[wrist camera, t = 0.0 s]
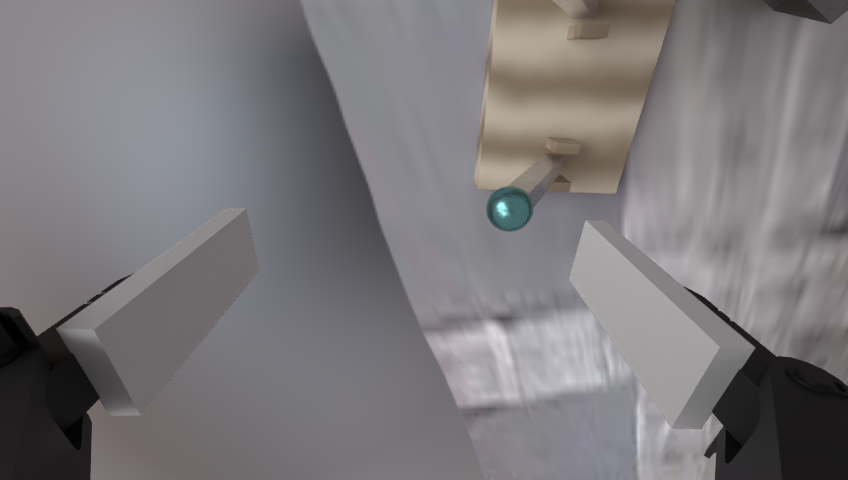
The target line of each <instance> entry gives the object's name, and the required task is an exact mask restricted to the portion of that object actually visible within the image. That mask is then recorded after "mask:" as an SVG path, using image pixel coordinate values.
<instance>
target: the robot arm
mask: <svg viewBox="0 0 848 480" xmlns="http://www.w3.org/2000/svg"><path fill="white" fill-rule="evenodd" d="M259 270H260V268H259V264H258V259H257V255H256V250H255V246H254V241H253V237H252V232H251V228H250V223H249V219H248V214H247V210H246V209H234V208H233V209H232V208H226V209H224V210H223V211H222V212H220V213H219V214H217V215H216V216H215V217H213V218H212V219H210V220H209V221H207V222H206V223H205V224H204V225H202V226H200V227H199V228H198V229H196V230H195V231H193V232H192V233H190V234H189V235H188V236H186V237H185V238H183V239H182V240H181V241H179V242H178V243H177V244H175V245H174V246H172V247H171V248H169V249H168V250H167V251H165V252H164V253H162V254H161V255H159V256H158V257H157V258H155V259H154V260H152V261H151V262H150V263H148V264H147V265H145V266H144V267H142V268H141V269H140V270H138V271H137V272H135V273H133V274H132V275H129V276H127V277H124V278H122V279H120V280H118V281H116V282H115V283H114V284H112V285H111V286H109V287H108V288H106V289H105V290H103V291H102V292H101V294H98V295H96V296H95V297H93V298H92V299H90V300H89V301H87V304H83V305H82V306H80V307H79V308H77V309H76V310H74V311H73V312H72V313H70V314H69V315H67V316H66V317H64V318H63V319H61V320H60V321H59V322H57V323H56V324H54V325H53V326H51V327H50V328H49V329H47V330H46V331H44V332H43V333H41V334H40V335H38V336H36V335H35V333H34V332H33V330H32V329H31V327H30V326H29V324H28V323H27V321H26V320H25V318H24V317H23V315H22V314H21V312H20V311H19V310H18V309H15V308H12V307H0V480H90V471H91V434H92V422H91V420H90V417H89V415H88V414H87V411H88V410H89V409H90V407H92V406H93V404H95V402H96V401H97V400H98V399H100V401H101V403H102V404H103V406H104V408H105V409H106V411H107V413H108V414H109V415H118V416H141V415H142V414H143V413H144V412H145V410H146V409H147V408H148V407H149V406H150V404H151V403H152V402H153V401H154V399H155V398H156V397H157V396H158V395H159V393H160V392H161V391H162V390H163V388H164V387H165V386H166V385H167V383H168V382H169V381H170V380H171V379H172V377H173V376H174V375H175V373H176V372H177V371H178V370H179V369H180V367H181V366H182V365H183V364H184V363H185V361H186V360H187V359H188V358H189V356H190V355H191V354H192V353H193V351H194V350H195V349H196V348H197V347H198V345H199V344H200V343H201V342H202V340H203V339H204V338H205V337H206V335H207V334H208V333H209V332H210V331H211V329H212V328H213V327H214V326H215V324H216V323H217V322H218V321H219V319H220V318H221V317H222V316H223V315H224V313H225V312H226V311H227V310H228V308H229V307H230V306H231V305H232V304H233V302H234V301H235V300H236V298H237V297H238V296H239V295H240V294H241V292H242V291H243V290H244V289H245V288H246V286H247V285H248V284H249V283H250V281H251V280H252V279H253V278H254V276H255V275H256V274H257V273H258V272H259ZM569 280H570V281H571V283H572V284H573V286H574V287H575V289H576V290H577V291H578V293H579V294H580V296H581V297H582V299H583V300H584V302H585V303H586V305H587V306H588V308H589V309H590V310H591V312H592V313H593V315H594V316H595V318H596V319H597V321H598V322H599V324H600V325H601V326H602V328H603V329H604V331H605V332H606V334H607V335H608V337H609V338H610V340H611V341H612V343H613V344H614V345H615V347H616V348H617V350H618V351H619V353H620V354H621V356H622V357H623V359H624V360H625V361H626V363H627V364H628V366H629V367H630V369H631V370H632V372H633V373H634V375H635V376H636V378H637V379H638V380H639V382H640V383H641V385H642V386H643V388H644V389H645V391H646V392H647V394H648V395H649V396H650V398H651V399H652V401H653V402H654V404H655V405H656V407H657V408H658V410H659V411H660V413H661V414H662V415H663V417H664V418H665V420H666V421H667V423H668V424H669V426H670V427H671V428H681V429H702V427H703V426H704V424H705V423H706V421H707V420H708V418H709V417H710V415H711V414H712V412H713V414H714V415H715V416H716V417H717V418H718V420H719V421H720V422H721V423H722V424H723V427H722V429H721V430H720V432H719V433H718V434H717V436H716V437H715V439H714V440H713V441H712V443H711V444H710V446H709V447H708V449H707V450H706V452H705V454H704V456H706V457H708V458H710V457H711V456H712V454H713V453H715V452H716V469H715V480H848V386H847V385H845V384H844V383H843V382H842V381H841V380H839V379H838V378H836V377H835V376H833V375H831V374H830V373H828V372H826V371H825V370H823V369H821V368H819V367H816V366H814V365H812V364H810V363H807V362H805V361H801V360H798V359H795V358H791V357H781V356H778V357H776V356H775V355H774V354H773V353H771V352H770V351H769V350H768V349H767V348H765V347H764V346H763V345H762V344H760V343H759V342H758V341H757V340H756V339H754V338H753V337H752V336H751V335H749V334H748V333H747V332H746V331H745V330H743V329H742V328H741V327H740V326H738V325H737V324H736V323H735V322H734V321H730V318H729V317H727V316H726V315H725V314H724V313H723V312H721V311H718V308H716V307H715V306H714V305H713V304H712V303H710V302H709V301H708V300H707V299H706V298H704V297H703V296H701V295H699V294H697V293H695V292H694V291H692V290H690V289H688V288H686V287H683V286H682V285H681V284H679V283H678V282H677V281H676V280H675V279H673V278H672V277H671V276H670V275H669V274H668V273H666V272H665V271H664V270H663V269H662V268H660V267H659V266H658V265H657V264H656V263H655V262H653V261H652V260H651V259H650V258H649V257H647V256H646V255H645V254H644V253H643V252H642V251H640V250H639V249H638V248H637V247H636V246H634V245H633V244H632V243H631V242H630V241H628V240H627V239H626V238H625V237H624V236H623V235H621V234H620V233H619V232H618V231H617V230H615V229H614V228H613V227H612V226H611V225H610V224H608V223H607V222H606V221H597V220H586V221H585V224H584V228H583V231H582V235H581V238H580V242H579V246H578V249H577V253H576V256H575V260H574V263H573V267H572V270H571V274H570V277H569Z"/></svg>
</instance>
